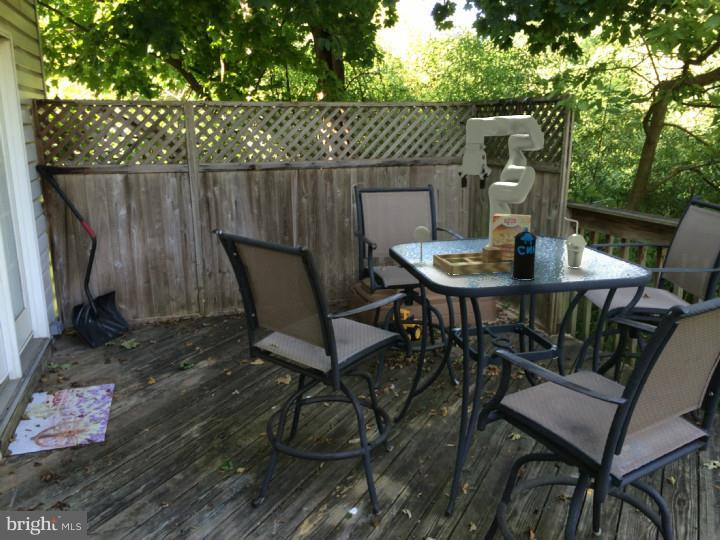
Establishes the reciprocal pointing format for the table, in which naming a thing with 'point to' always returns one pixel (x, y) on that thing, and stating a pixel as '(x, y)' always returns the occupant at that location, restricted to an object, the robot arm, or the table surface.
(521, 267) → the aerosol can
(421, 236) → the lollipop
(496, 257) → the block
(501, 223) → the coffeecake box
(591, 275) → the table surface
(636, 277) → the table surface
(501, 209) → the robot arm
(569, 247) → the cup with straw
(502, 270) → the tray
